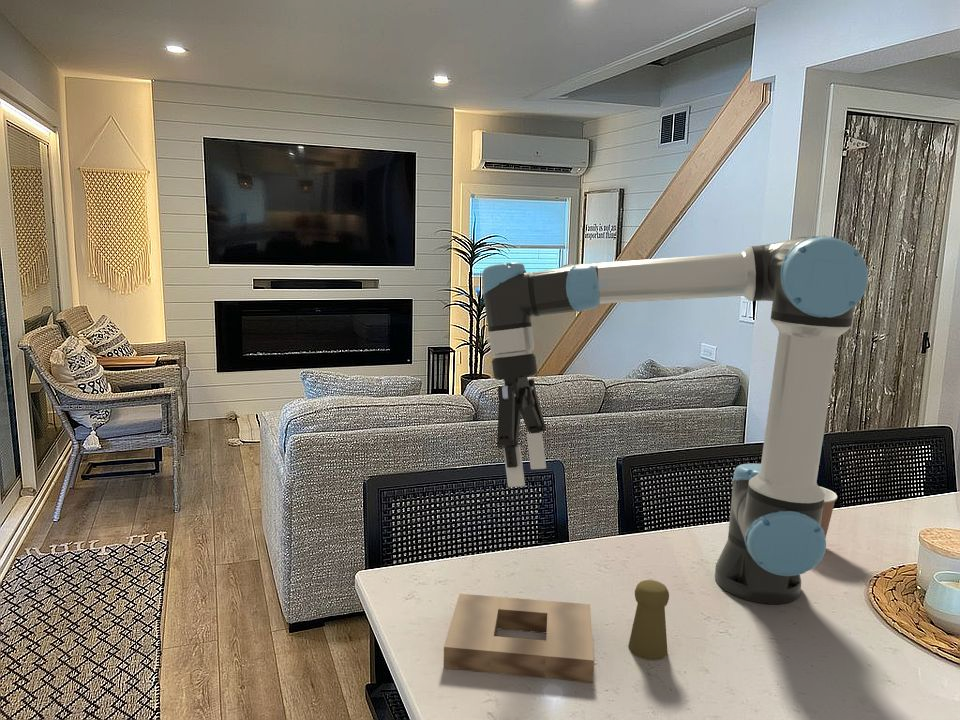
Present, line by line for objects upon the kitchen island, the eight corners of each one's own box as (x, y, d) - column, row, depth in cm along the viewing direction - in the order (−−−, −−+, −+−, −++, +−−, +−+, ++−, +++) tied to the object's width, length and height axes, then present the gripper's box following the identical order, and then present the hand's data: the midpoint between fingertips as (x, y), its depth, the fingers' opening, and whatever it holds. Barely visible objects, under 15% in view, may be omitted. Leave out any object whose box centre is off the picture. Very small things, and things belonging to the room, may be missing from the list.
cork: (668, 662, 109) (673, 596, 107) (628, 657, 110) (632, 591, 108) (666, 640, 114) (671, 577, 112) (628, 635, 116) (632, 572, 114)
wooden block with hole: (588, 623, 119) (590, 604, 118) (592, 682, 103) (594, 660, 103) (459, 612, 121) (459, 593, 121) (443, 668, 106) (443, 646, 105)
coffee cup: (827, 539, 155) (833, 487, 153) (834, 559, 145) (840, 503, 143) (776, 532, 158) (782, 480, 156) (780, 550, 149) (785, 496, 147)
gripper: (513, 352, 135) (527, 463, 135) (466, 362, 111) (483, 495, 112) (552, 348, 132) (565, 461, 132) (512, 356, 109) (528, 493, 109)
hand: (528, 477), depth 122 cm, fingers open, 13 cm apart
